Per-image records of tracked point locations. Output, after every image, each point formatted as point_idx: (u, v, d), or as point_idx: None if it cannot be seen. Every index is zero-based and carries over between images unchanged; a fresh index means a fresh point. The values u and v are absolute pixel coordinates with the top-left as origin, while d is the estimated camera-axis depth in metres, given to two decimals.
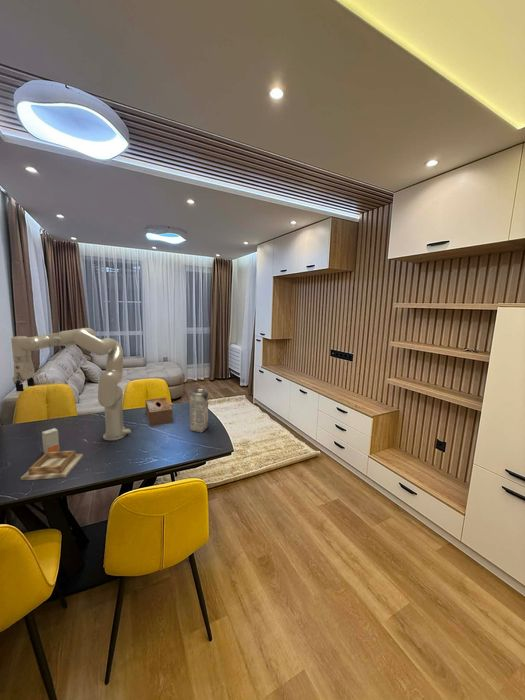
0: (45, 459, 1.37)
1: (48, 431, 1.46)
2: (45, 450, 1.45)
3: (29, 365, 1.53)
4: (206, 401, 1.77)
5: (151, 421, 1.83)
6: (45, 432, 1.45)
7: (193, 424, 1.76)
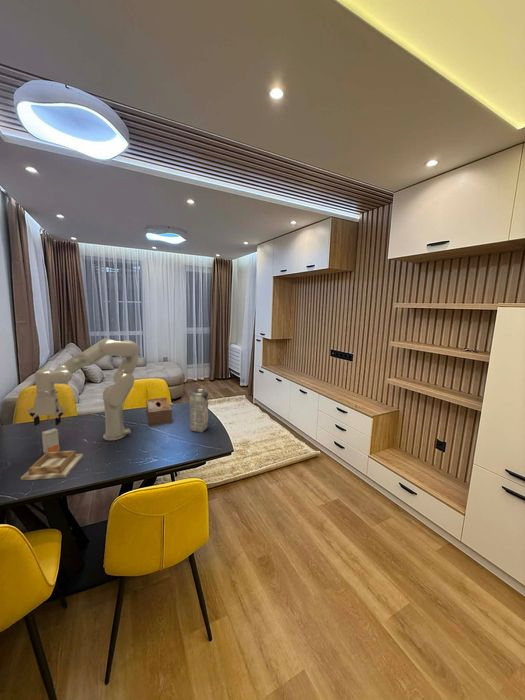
0: (45, 459, 1.37)
1: (48, 431, 1.46)
2: (45, 450, 1.45)
3: None
4: (206, 401, 1.77)
5: (150, 421, 1.83)
6: (45, 432, 1.45)
7: (193, 424, 1.76)
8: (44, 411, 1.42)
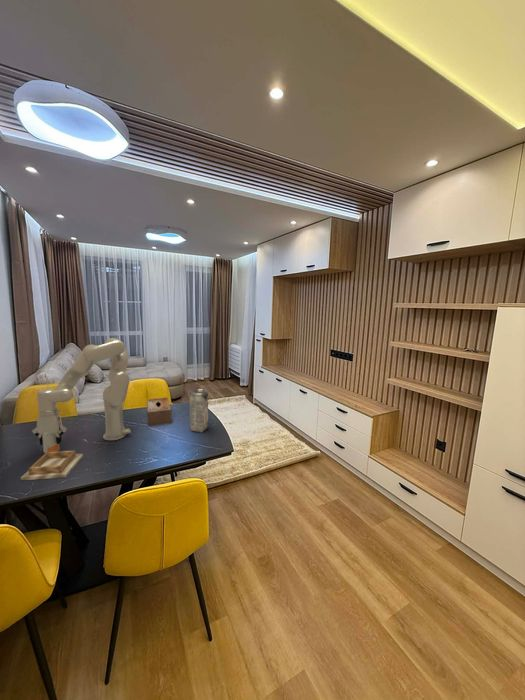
0: (45, 459, 1.37)
1: None
2: (45, 450, 1.45)
3: None
4: (206, 401, 1.77)
5: (149, 421, 1.83)
6: None
7: (193, 424, 1.76)
8: (47, 429, 1.44)
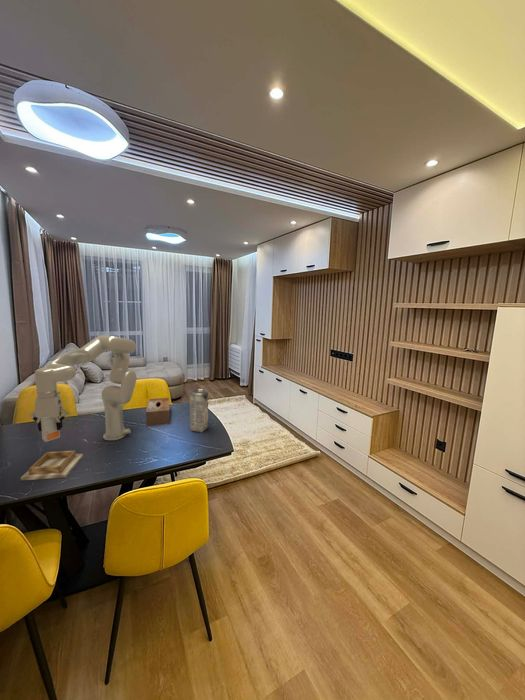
0: (45, 459, 1.37)
1: None
2: (44, 437, 1.30)
3: None
4: (206, 401, 1.77)
5: (147, 421, 1.83)
6: None
7: (193, 424, 1.76)
8: (46, 413, 1.28)
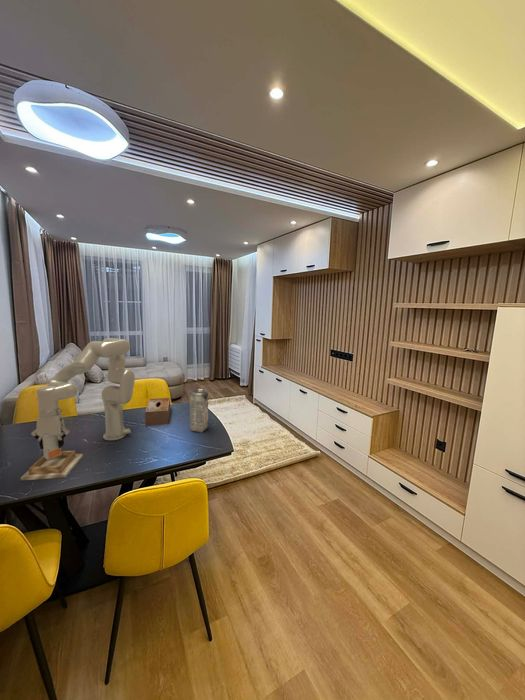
0: (45, 459, 1.37)
1: None
2: (46, 454, 1.30)
3: None
4: (206, 401, 1.77)
5: (146, 421, 1.83)
6: None
7: (193, 424, 1.76)
8: (48, 431, 1.29)
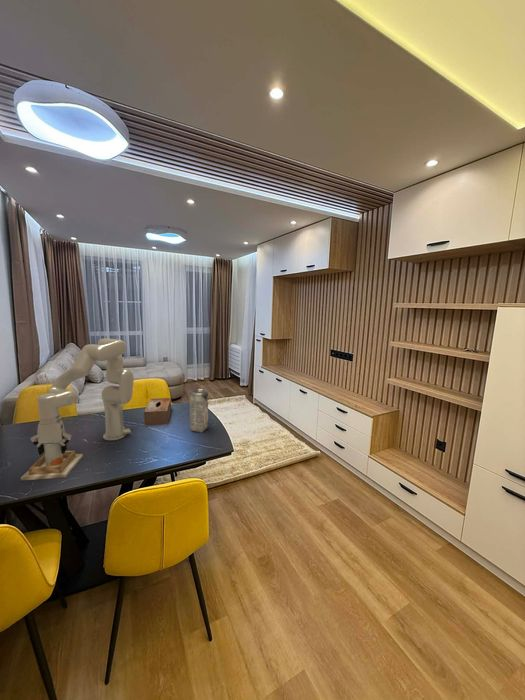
0: None
1: None
2: (48, 463, 1.32)
3: None
4: (206, 401, 1.77)
5: (145, 421, 1.83)
6: (48, 443, 1.31)
7: (193, 424, 1.76)
8: (48, 439, 1.30)
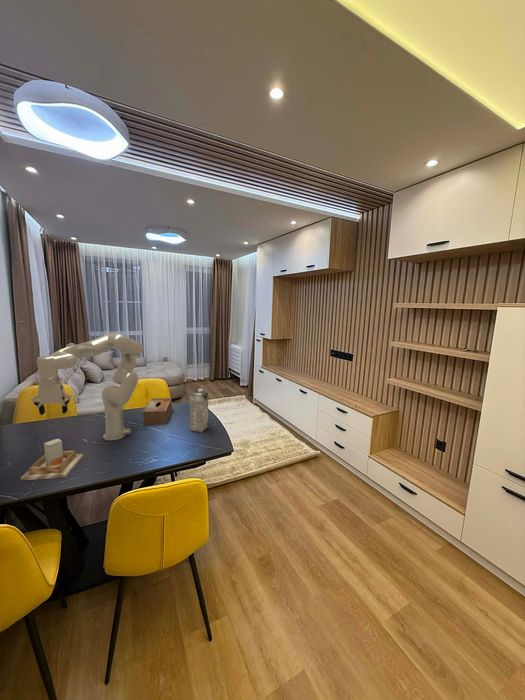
0: None
1: (51, 442, 1.32)
2: (48, 463, 1.32)
3: None
4: (206, 401, 1.77)
5: (144, 420, 1.83)
6: (48, 443, 1.31)
7: (193, 424, 1.76)
8: (49, 399, 1.34)
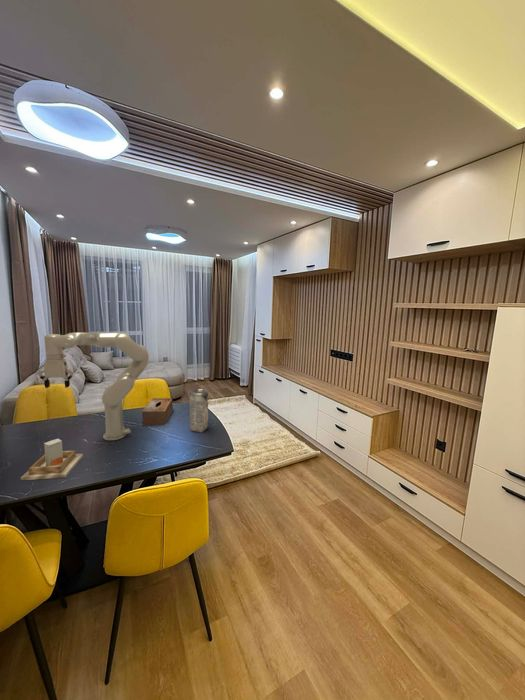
0: None
1: (51, 442, 1.32)
2: (48, 463, 1.32)
3: None
4: (206, 401, 1.77)
5: (143, 420, 1.84)
6: (48, 443, 1.31)
7: (193, 424, 1.76)
8: (54, 373, 1.48)
